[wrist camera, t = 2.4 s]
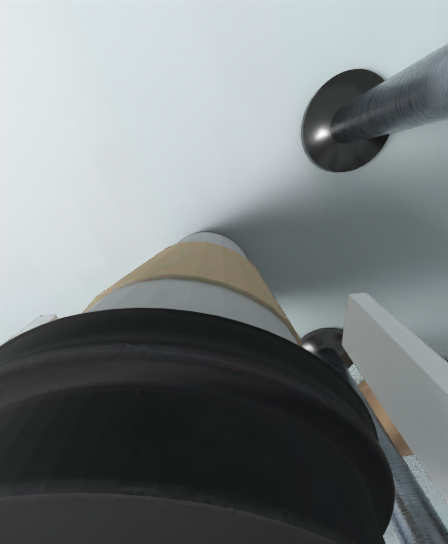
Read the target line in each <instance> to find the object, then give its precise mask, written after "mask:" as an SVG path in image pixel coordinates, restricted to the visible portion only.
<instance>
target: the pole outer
mask: <svg viewBox="0 0 448 544" xmlns="http://www.w3.org/2000/svg"><path fill="white" fill-rule="evenodd" d="M445 119H448V44H447V45H445V46H443V47H442V48H440V49H438V50H437V51H435V52H433V53H432V54H430V55H428V56H426V57H425V58H423V59H421V60H420V61H418V62H416V63H415V64H413V65H411V66H410V67H408V68H406V69H405V70H403V71H401V72H399V73H398V74H396V75H394V76H393V77H391V78H389V79H388V80H386V81H384V80H383V79H382V78H381V77H380V76H378V75H377V74H375V73H373V72H371V71H368V70H363V69H353V70H348V71H345V72H342V73H340V74H338V75H336V76H334V77H333V78H331V79H330V80H329V81H328V82H326V83H325V84H324V85H323V86H322V87H321V88H320V89H319V90H318V91H317V92H316V93H315V95H314V96H313V97H312V99H311V100H310V102H309V104H308V106H307V108H306V110H305V113H304V116H303V120H302V125H301V139H302V145H303V148H304V151H305V153H306V155H307V156H308V158H309V159H310V161H311V162H312V163H313V164H314V165H316V166H317V167H319V168H320V169H323V170H325V171H329V172H346V171H351V170H354V169H357V168H359V167H361V166H363V165H364V164H366V163H367V162H369V161H370V160H371V159H372V158H373V157H374V156H376V154H377V153H378V152H379V151H380V150H381V148H382V147H383V145H384V144H385V142H386V140H387V138H388V136H389V134H390V133H393V132H397V131H401V130H405V129H409V128H413V127H417V126H421V125H425V124H429V123H433V122H437V121H441V120H445Z"/></svg>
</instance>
